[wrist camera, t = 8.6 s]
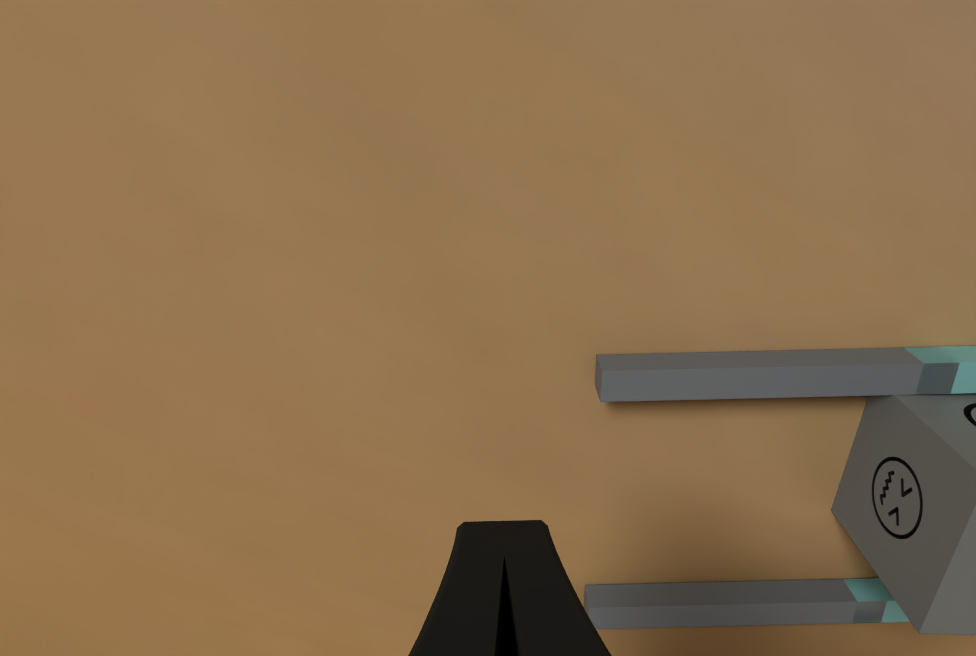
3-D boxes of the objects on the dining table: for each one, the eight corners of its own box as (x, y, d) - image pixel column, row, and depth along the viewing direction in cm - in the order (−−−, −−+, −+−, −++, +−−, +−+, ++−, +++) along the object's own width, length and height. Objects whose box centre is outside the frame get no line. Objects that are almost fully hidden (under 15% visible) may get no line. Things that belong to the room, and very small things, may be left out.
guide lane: (1034, 595, 24) (1068, 630, 23) (583, 606, 24) (589, 641, 23) (1142, 341, 20) (1191, 365, 18) (596, 354, 20) (605, 379, 18)
